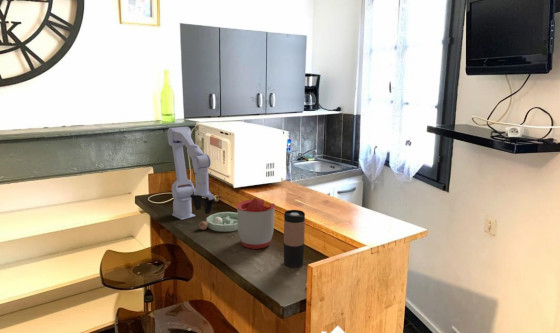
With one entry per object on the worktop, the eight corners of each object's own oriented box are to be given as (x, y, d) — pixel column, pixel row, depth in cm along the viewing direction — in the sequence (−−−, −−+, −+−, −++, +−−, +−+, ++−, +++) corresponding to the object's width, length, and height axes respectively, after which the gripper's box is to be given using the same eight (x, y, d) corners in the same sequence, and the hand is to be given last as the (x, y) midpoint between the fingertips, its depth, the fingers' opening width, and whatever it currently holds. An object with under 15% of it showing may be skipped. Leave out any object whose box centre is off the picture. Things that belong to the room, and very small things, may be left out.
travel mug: (282, 259, 155) (283, 209, 151) (302, 258, 156) (303, 209, 151) (284, 268, 148) (285, 216, 143) (305, 268, 148) (306, 216, 144)
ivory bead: (219, 223, 190) (218, 215, 189) (224, 225, 187) (224, 217, 186) (212, 225, 187) (211, 217, 186) (217, 227, 184) (216, 219, 183)
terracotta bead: (197, 229, 184) (196, 221, 183) (204, 227, 186) (204, 219, 186) (202, 231, 181) (201, 223, 180) (209, 229, 184) (209, 221, 183)
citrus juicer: (285, 242, 170) (286, 197, 166) (254, 255, 158) (254, 206, 154) (260, 232, 181) (260, 189, 177) (229, 243, 169) (228, 197, 165)
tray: (199, 224, 190) (199, 218, 190) (230, 215, 203) (230, 209, 202) (222, 235, 178) (222, 228, 177) (253, 224, 190) (253, 218, 189)
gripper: (185, 180, 181) (186, 209, 184) (203, 187, 171) (204, 217, 174) (198, 177, 186) (199, 206, 189) (217, 184, 176) (218, 213, 179)
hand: (202, 211), depth 182 cm, fingers open, 7 cm apart
